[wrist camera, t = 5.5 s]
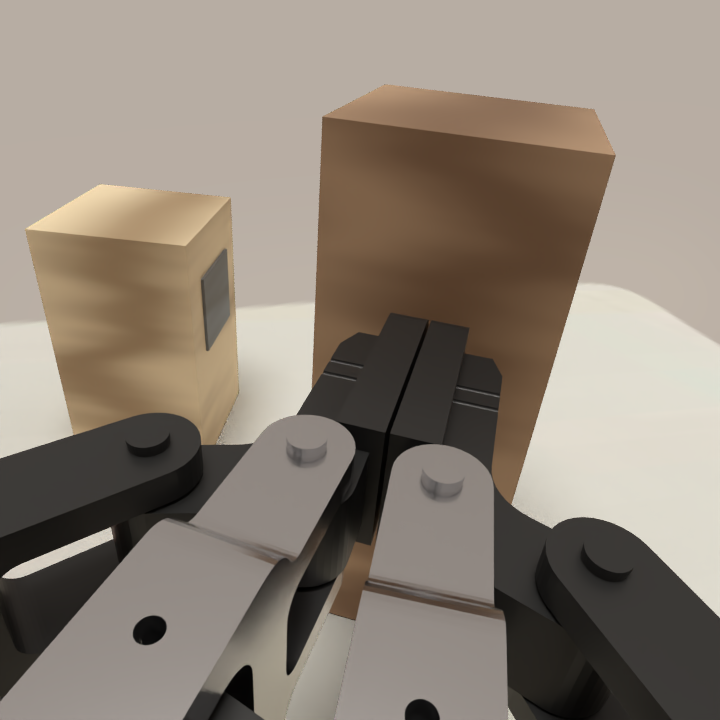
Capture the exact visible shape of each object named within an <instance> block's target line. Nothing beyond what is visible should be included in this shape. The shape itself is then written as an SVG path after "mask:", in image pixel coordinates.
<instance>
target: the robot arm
mask: <svg viewBox="0 0 720 720" xmlns="http://www.w3.org/2000/svg"><path fill="white" fill-rule="evenodd" d="M428 326H429V328H428ZM469 329H470V328H469V327H464V326H459V325H454V324H449V323H443V322H438V321H433V320H431V323H430V325H429V320H427V319H422V318H417V317H412V316H407V315H401V314H396V313H390V314H389V316H388V318H387V320H386V322H385V324H384V326H383V328H382V330H381V332H380V334H379V336H376V335H371V334H366V333H361V332H358V333H356V334H355V335H353V336H351V337H349V338H348V339H346V340H344V341H343V342H341V343H340V344H339V346H338V347H337V349H336V351H335V352H334V354H333V356H332V357H331V361H329V362H328V364H327V366H326V367H325V369H324V370H323V374H321V375H320V377H319V379H318V380H317V382H316V384H315V385H314V387H313V389H312V390H311V392H310V394H309V395H308V397H307V398H306V400H305V402H304V403H303V405H302V407H301V408H300V410H299V412H298V413H297V415H296V416H290V417H286V418H283V419H280V420H278V421H276V422H274V423H272V424H271V425H270V426H268V427H267V428H266V429H265V430H264V431H263V432H262V433H261V435H260V436H259V437H258V438H257V440H256V441H255V442H254V443H252V444H244V445H201V436H200V432H199V430H198V428H197V427H196V426H195V425H194V424H193V423H192V422H191V421H189V420H188V419H186V418H184V417H182V416H179V415H175V414H170V413H146V414H140V415H136V416H133V417H129V418H126V419H123V420H120V421H117V422H114V423H110V424H107V425H104V426H101V427H98V428H95V429H92V430H89V431H85V432H82V433H79V434H76V435H73V436H70V437H67V438H63V439H60V440H57V441H54V442H51V443H48V444H45V445H41V446H38V447H35V448H32V449H29V450H26V451H23V452H19V453H16V454H13V455H10V456H7V457H4V458H1V459H0V720H285V718H286V714H287V710H288V706H289V703H290V700H291V697H292V694H293V691H294V689H295V686H296V684H297V682H298V679H299V677H300V675H301V673H302V671H303V668H304V666H305V664H306V662H307V659H308V657H309V655H310V653H311V651H312V648H313V646H314V644H315V642H316V640H317V637H318V635H319V633H320V631H321V629H322V626H323V624H324V622H325V620H326V618H327V615H328V613H329V611H330V609H331V606H332V604H333V602H334V600H335V598H336V595H337V593H338V591H339V589H340V587H341V584H342V581H343V575H344V568H345V567H346V565H347V563H348V560H349V558H350V555H351V552H352V549H353V546H354V544H355V542H359V543H362V544H366V545H370V546H371V544H372V540H373V537H374V534H375V531H376V528H377V535H376V542H375V550H374V554H373V559H372V564H371V568H370V573H369V577H368V581H367V580H366V581H365V584H364V587H363V591H362V595H361V600H360V604H359V609H358V613H357V618H356V622H355V627H354V631H353V636H352V640H351V645H350V649H349V654H348V658H347V663H346V668H345V672H344V677H343V681H342V686H341V690H340V695H339V699H338V704H337V708H336V713H335V717H334V720H508V708H509V709H510V711H511V713H512V714H513V716H514V718H515V719H516V720H720V618H719V617H718V616H717V615H716V614H715V613H714V612H713V611H712V610H711V609H710V608H709V607H708V606H707V605H706V604H705V603H704V602H703V601H702V600H701V599H700V598H699V597H698V596H697V595H696V594H695V593H694V592H693V591H692V590H691V589H690V588H689V587H688V586H687V585H686V584H685V583H684V582H683V581H682V580H681V579H680V578H679V577H678V576H677V575H676V574H675V573H674V572H673V571H672V570H671V569H670V568H669V567H668V566H667V565H666V564H665V563H664V562H663V561H662V560H661V559H660V558H659V557H658V556H657V555H656V554H655V553H654V552H653V551H652V550H651V549H650V548H649V547H648V546H647V545H646V544H645V543H644V542H643V541H642V540H641V539H639V538H638V537H636V536H635V535H634V534H632V533H631V532H629V531H627V530H625V529H624V528H622V527H620V526H617V525H615V524H613V523H610V522H607V521H604V520H600V519H595V518H586V517H580V518H572V519H567V520H565V521H562V522H560V523H559V524H557V525H556V526H554V527H553V529H551V528H549V527H547V526H545V525H543V524H542V523H540V522H538V521H536V520H534V519H532V518H530V517H528V516H526V515H525V514H523V513H521V512H520V511H518V510H517V509H516V508H514V507H513V506H512V505H511V504H510V503H509V502H507V501H506V500H505V498H504V497H503V496H502V495H501V494H500V492H499V491H498V489H497V487H496V486H495V483H494V481H493V477H492V461H493V452H494V444H495V436H496V427H497V419H498V409H499V402H500V393H501V385H502V377H503V376H502V375H501V373H500V371H499V369H498V367H497V366H496V364H495V362H494V360H493V359H490V358H485V357H480V356H475V355H471V354H466V353H465V349H466V344H467V339H468V334H469ZM377 525H378V527H377ZM109 527H111V529H112V534H113V540H110V541H108V542H105V543H103V544H101V545H98V546H96V547H94V548H91V549H89V550H87V551H84V552H82V553H79V554H77V555H75V556H72V557H70V558H68V559H65V560H63V561H60V562H58V563H56V564H53V565H51V566H49V567H46V568H44V569H42V570H39V571H37V572H34V573H32V574H30V575H27V576H24V577H21V578H16V579H6V578H2V576H3V575H4V574H5V573H7V572H8V571H9V570H11V569H12V568H14V567H16V566H18V565H20V564H22V563H24V562H27V561H29V560H32V559H34V558H36V557H39V556H41V555H44V554H46V553H49V552H51V551H53V550H56V549H58V548H61V547H63V546H66V545H68V544H70V543H73V542H75V541H78V540H80V539H83V538H85V537H88V536H90V535H92V534H95V533H97V532H100V531H102V530H105V529H107V528H109Z"/></svg>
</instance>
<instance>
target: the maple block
mask: <svg viewBox="0 0 720 720" xmlns="http://www.w3.org/2000/svg"><path fill="white" fill-rule="evenodd" d="M231 218H232V217H231V198H230V197H220V196H210V195H201V194H191V193H181V192H172V191H162V190H152V189H142V188H133V187H123V186H113V185H102V184H100V185H98V186H96V187H95V188H93V189H91V190H90V191H88V192H86V193H85V194H83V195H81V196H80V197H78V198H76V199H75V200H73V201H71V202H70V203H68V204H66V205H65V206H63V207H61V208H60V209H58V210H56V211H54V212H53V213H51V214H49V215H48V216H46V217H44V218H43V219H41V220H39V221H38V222H36V223H34V224H33V225H31V226H29V227H28V228H26V229H25V231H26V235H27V240H28V244H29V248H30V252H31V256H32V261H33V265H34V269H35V273H36V277H37V282H38V286H39V290H40V294H41V298H42V303H43V307H44V311H45V315H46V320H47V324H48V328H49V332H50V337H51V341H52V345H53V349H54V353H55V358H56V362H57V366H58V370H59V374H60V379H61V383H62V387H63V391H64V396H65V400H66V404H67V408H68V412H69V417H70V421H71V425H72V429H73V433H74V435H76V434H79V433H82V432H85V431H89V430H92V429H95V428H98V427H101V426H104V425H107V424H110V423H114V422H117V421H120V420H123V419H126V418H129V417H133V416H136V415H140V414H146V413H170V414H175V415H179V416H182V417H184V418H186V419H188V420H189V421H191V422H192V423H193V424H194V425H195V426H196V427H197V428H198V430H199V432H200V436H201V445H215V444H216V442H217V440H218V438H219V435H220V433H221V431H222V429H223V427H224V424H225V422H226V420H227V418H228V416H229V413H230V411H231V409H232V407H233V404H234V402H235V400H236V398H237V396H238V393H239V383H238V360H237V336H236V312H235V290H234V289H235V288H234V265H233V243H232V242H233V241H232V219H231Z"/></svg>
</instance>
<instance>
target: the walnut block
mask: <svg viewBox="0 0 720 720" xmlns="http://www.w3.org/2000/svg"><path fill="white" fill-rule="evenodd" d="M614 159H615V153H614V151H613V149H612V147H611V144H610V142H609V140H608V138H607V136H606V134H605V132H604V129H603V127H602V125H601V123H600V121H599V119H598V117H597V115H596V112H595V110H594V109H586V108H578V107H570V106H561V105H552V104H545V103H535V102H528V101H518V100H511V99H502V98H494V97H485V96H477V95H469V94H461V93H452V92H444V91H436V90H426V89H419V88H410V87H401V86H394V85H383V86H381V87H379V88H377V89H375V90H374V91H372V92H370V93H368V94H366V95H364V96H362V97H360V98H358V99H356V100H354V101H352V102H350V103H348V104H346V105H345V106H342V107H341V108H338V109H336V110H334V111H333V112H331V113H329V114H327V115H325V116H323V117H322V144H321V169H320V195H319V222H318V246H317V247H318V248H317V272H316V297H315V323H314V349H313V375H312V389H313V387H314V385H315V384H316V382H317V380H318V379H319V377H320V375H321V374H323V370H324V369H325V367H326V366H327V364H328V362H329V361H331V357H332V356H333V354H334V352H335V351H336V349H337V347H338V346H339V344H340V343H341V342H343V341H344V340H346V339H348V338H349V337H351V336H353V335H355V334H356V333H358V332H361V333H366V334H371V335H376V336H379V334H380V332H381V330H382V328H383V326H384V324H385V322H386V320H387V318H388V316H389V314H390V313H396V314H401V315H407V316H412V317H417V318H422V319H427V320H429V325H430V323H431V320H433V321H438V322H443V323H449V324H454V325H459V326H464V327H469V328H470V329H469V334H468V339H467V344H466V349H465V353H466V354H471V355H475V356H480V357H485V358H490V359H493V360H494V362H495V364H496V366H497V367H498V369H499V371H500V373H501V375H502V376H503V377H502V385H501V393H500V402H499V409H498V419H497V427H496V436H495V444H494V452H493V461H492V477H493V481H494V483H495V486H496V487H497V489H498V491H499V492H500V494H501V495H502V496H503V497H504V498H505V500H506V501H507V502H509V503H510V504H512V501H513V497H514V494H515V491H516V487H517V484H518V481H519V477H520V474H521V470H522V467H523V464H524V460H525V457H526V454H527V450H528V447H529V444H530V440H531V437H532V434H533V430H534V427H535V424H536V420H537V417H538V414H539V410H540V407H541V404H542V400H543V397H544V394H545V390H546V387H547V384H548V380H549V377H550V373H551V370H552V367H553V363H554V360H555V357H556V353H557V350H558V347H559V343H560V340H561V337H562V333H563V330H564V327H565V323H566V320H567V317H568V313H569V310H570V307H571V303H572V300H573V297H574V293H575V290H576V287H577V283H578V280H579V276H580V273H581V269H582V266H583V263H584V260H585V256H586V253H587V250H588V246H589V243H590V239H591V236H592V233H593V230H594V226H595V223H596V220H597V216H598V213H599V210H600V206H601V203H602V200H603V196H604V193H605V189H606V186H607V183H608V179H609V176H610V173H611V169H612V166H613V162H614ZM428 328H429V326H428ZM377 527H378V525H377ZM376 535H377V528H376V531H375V534H374V537H373V540H372V544H371V546H370V545H366V544H362V543H359V542H355V544H354V546H353V549H352V552H351V555H350V558H349V560H348V563H347V565H346V567H345V568H344V575H343V581H342V584H341V587H340V589H339V591H338V593H337V595H336V598H335V600H334V602H333V604H332V606H331V609H330V611H329V613H332V614H336V615H339V616H343V617H346V618H349V619H353V620H356V618H357V613H358V609H359V604H360V600H361V595H362V591H363V587H364V584H365V581H366V580H367V581H368V577H369V573H370V568H371V564H372V559H373V554H374V550H375V542H376Z"/></svg>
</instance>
